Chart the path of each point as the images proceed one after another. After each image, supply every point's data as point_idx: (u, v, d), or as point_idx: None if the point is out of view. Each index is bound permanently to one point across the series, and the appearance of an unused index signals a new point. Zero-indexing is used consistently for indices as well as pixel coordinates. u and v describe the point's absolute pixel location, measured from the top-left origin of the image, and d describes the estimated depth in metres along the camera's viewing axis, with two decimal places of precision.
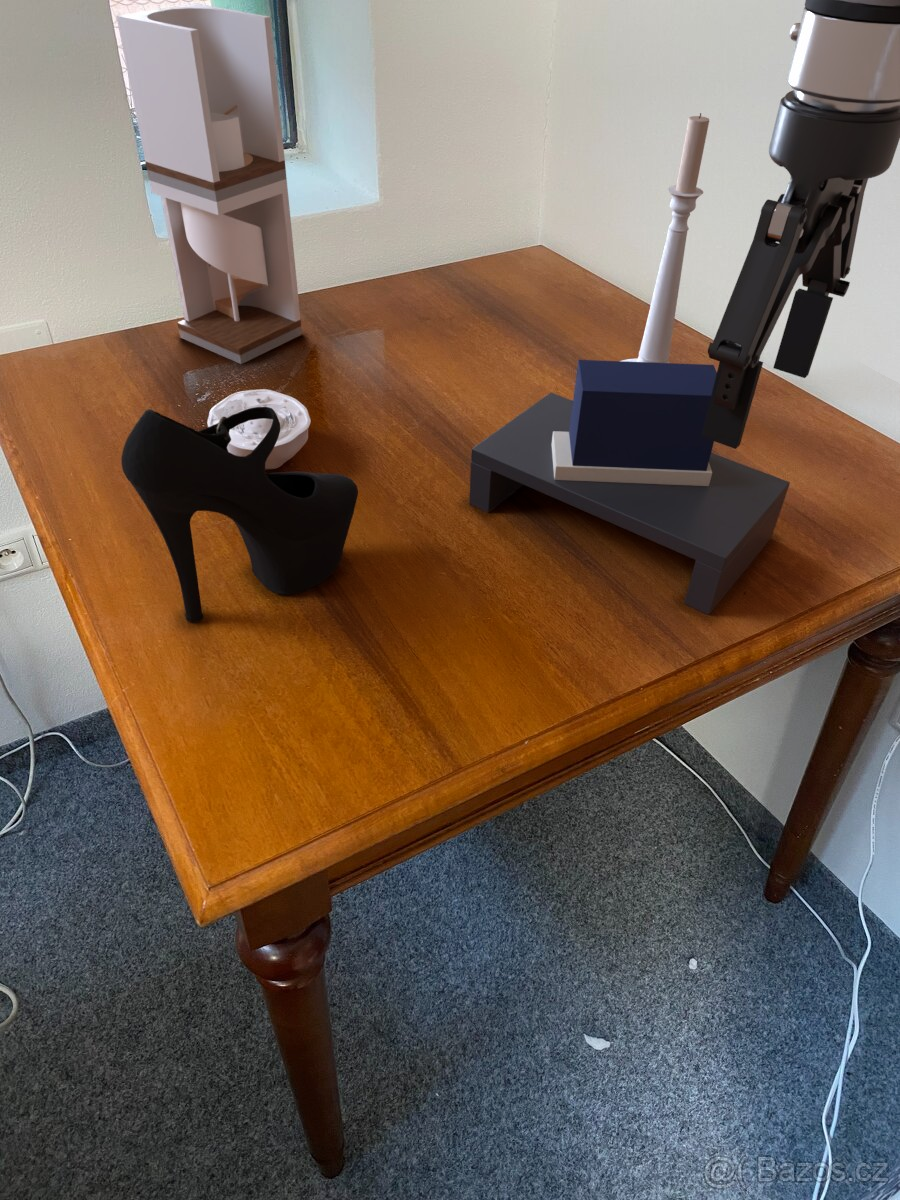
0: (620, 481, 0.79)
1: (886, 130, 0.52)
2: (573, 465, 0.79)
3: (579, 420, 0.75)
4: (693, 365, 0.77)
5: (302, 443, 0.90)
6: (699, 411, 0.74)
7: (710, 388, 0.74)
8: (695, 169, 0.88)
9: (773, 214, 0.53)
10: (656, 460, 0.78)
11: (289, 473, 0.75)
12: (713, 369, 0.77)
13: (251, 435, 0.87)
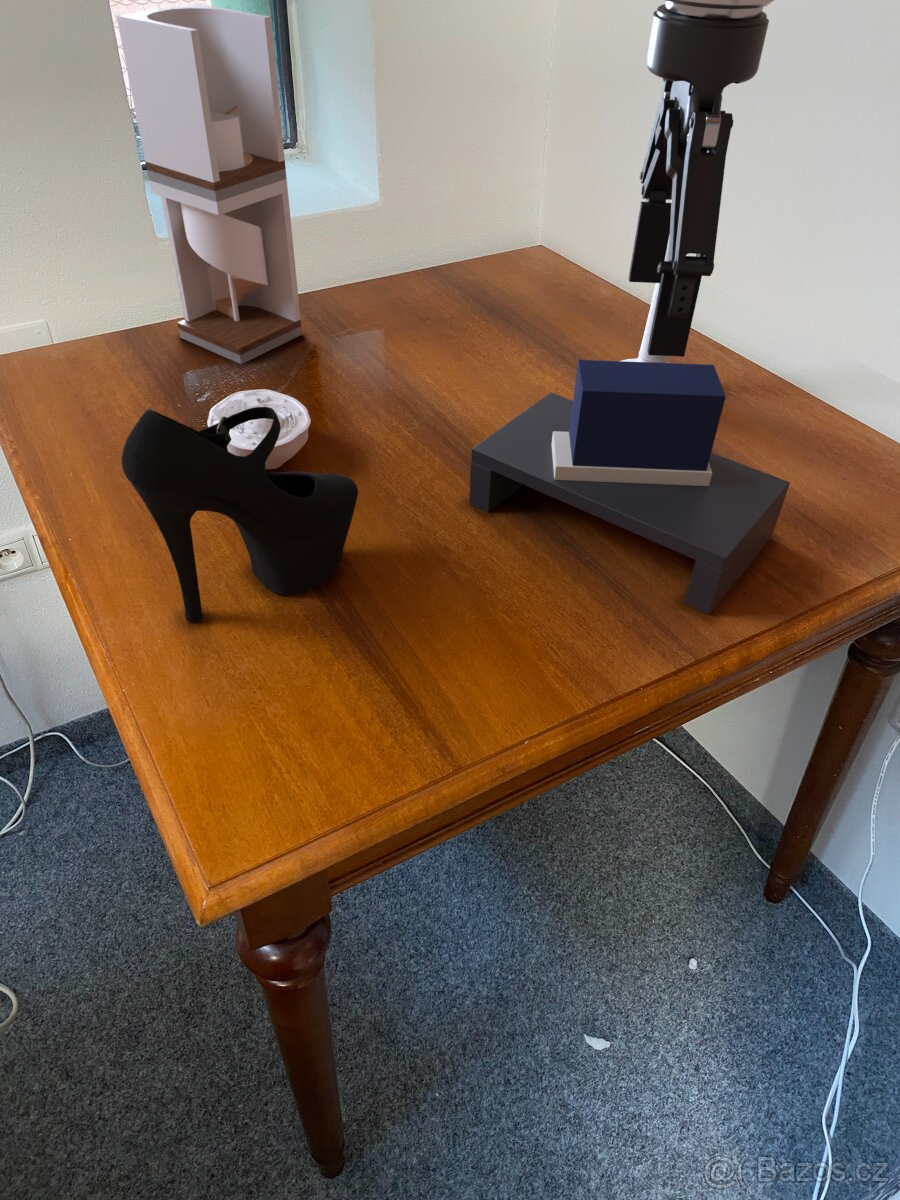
0: (620, 481, 0.79)
1: (765, 31, 0.57)
2: (573, 465, 0.79)
3: (579, 420, 0.75)
4: (693, 365, 0.77)
5: (302, 443, 0.90)
6: (699, 411, 0.74)
7: (710, 388, 0.74)
8: None
9: (706, 124, 0.56)
10: (656, 460, 0.78)
11: (289, 473, 0.75)
12: (713, 369, 0.77)
13: (251, 435, 0.87)
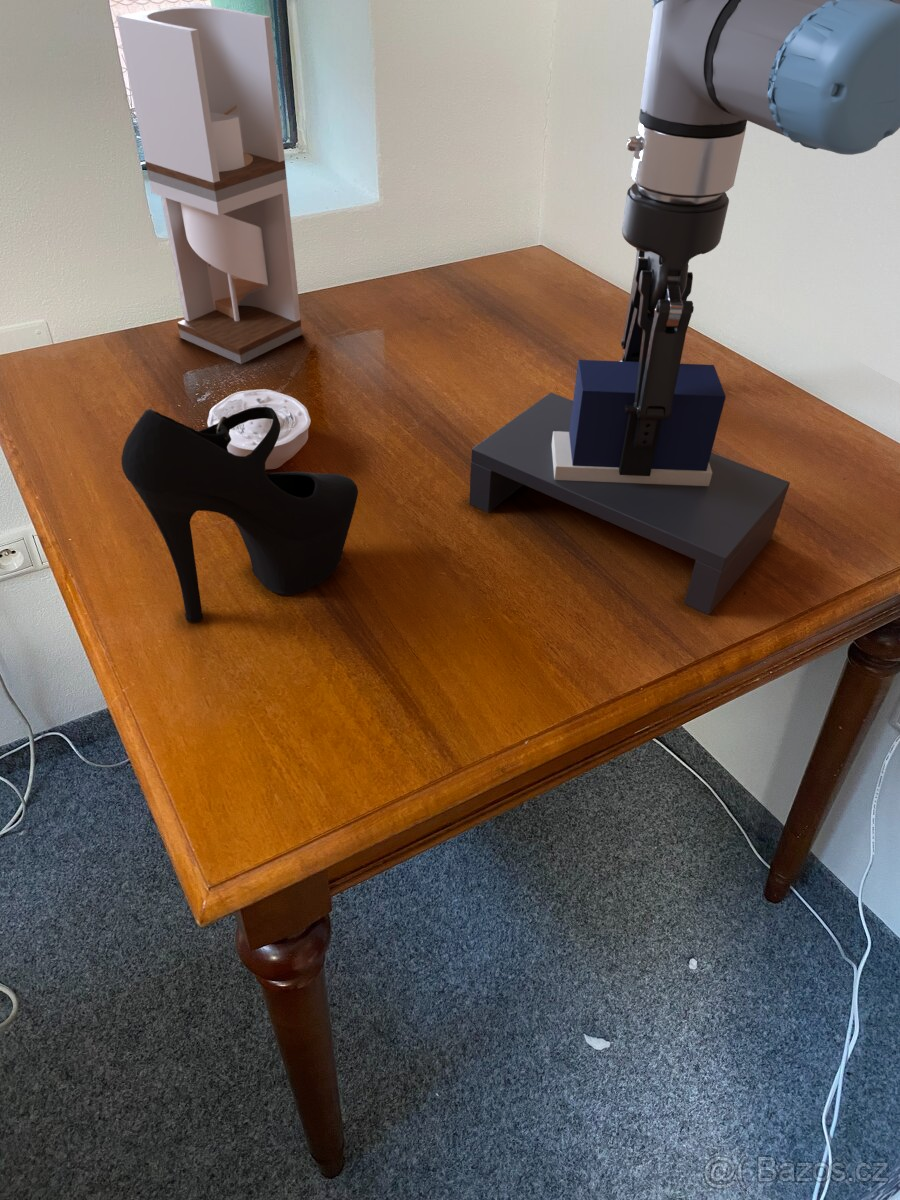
0: (620, 481, 0.79)
1: (725, 211, 0.64)
2: (573, 465, 0.79)
3: (579, 420, 0.75)
4: (693, 365, 0.77)
5: (302, 443, 0.90)
6: (699, 411, 0.74)
7: (710, 388, 0.74)
8: None
9: (669, 314, 0.65)
10: (656, 460, 0.78)
11: (289, 473, 0.75)
12: (713, 369, 0.77)
13: (251, 435, 0.87)
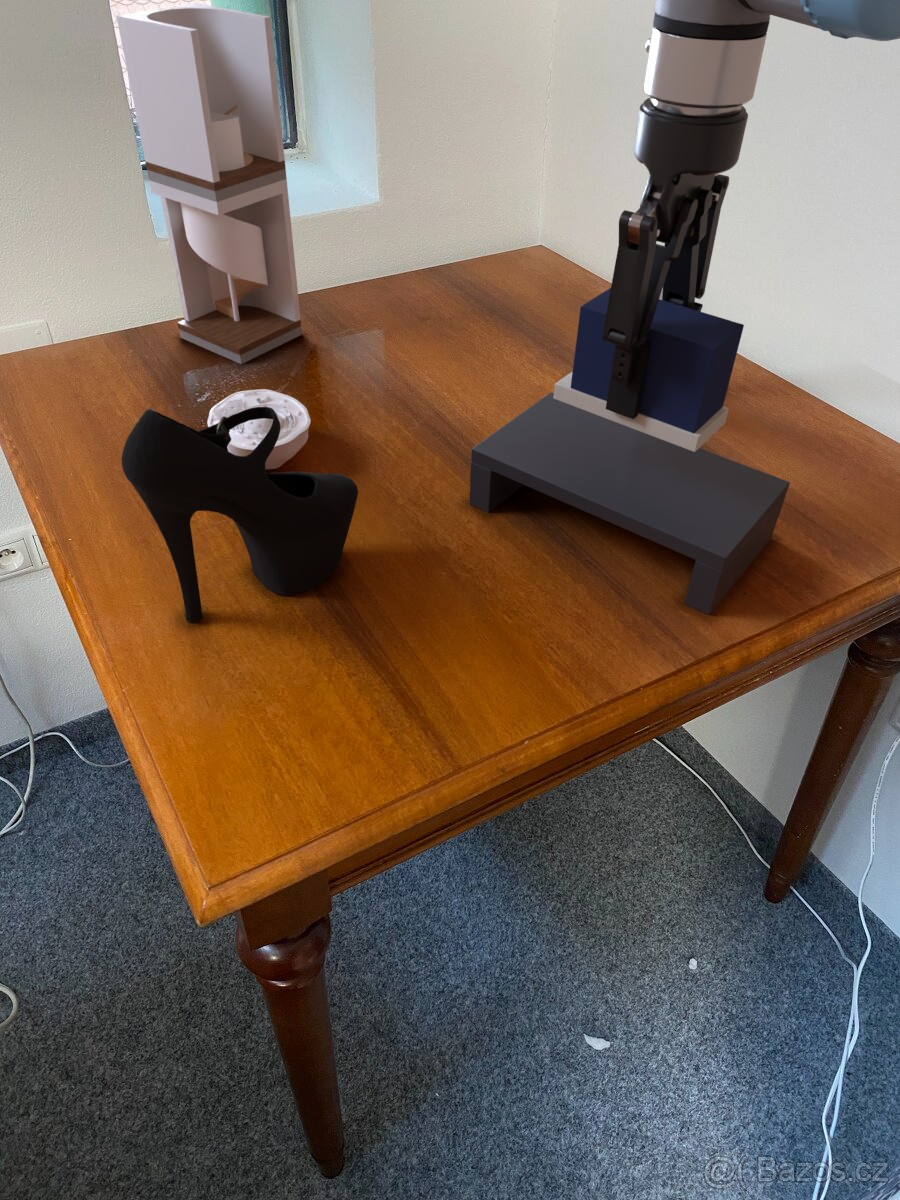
0: (611, 419, 0.76)
1: (725, 131, 0.59)
2: (571, 388, 0.77)
3: (577, 339, 0.74)
4: (721, 319, 0.71)
5: (302, 443, 0.90)
6: (687, 359, 0.69)
7: (708, 339, 0.68)
8: None
9: (628, 226, 0.62)
10: (646, 406, 0.74)
11: (289, 473, 0.75)
12: (737, 327, 0.70)
13: (251, 435, 0.87)
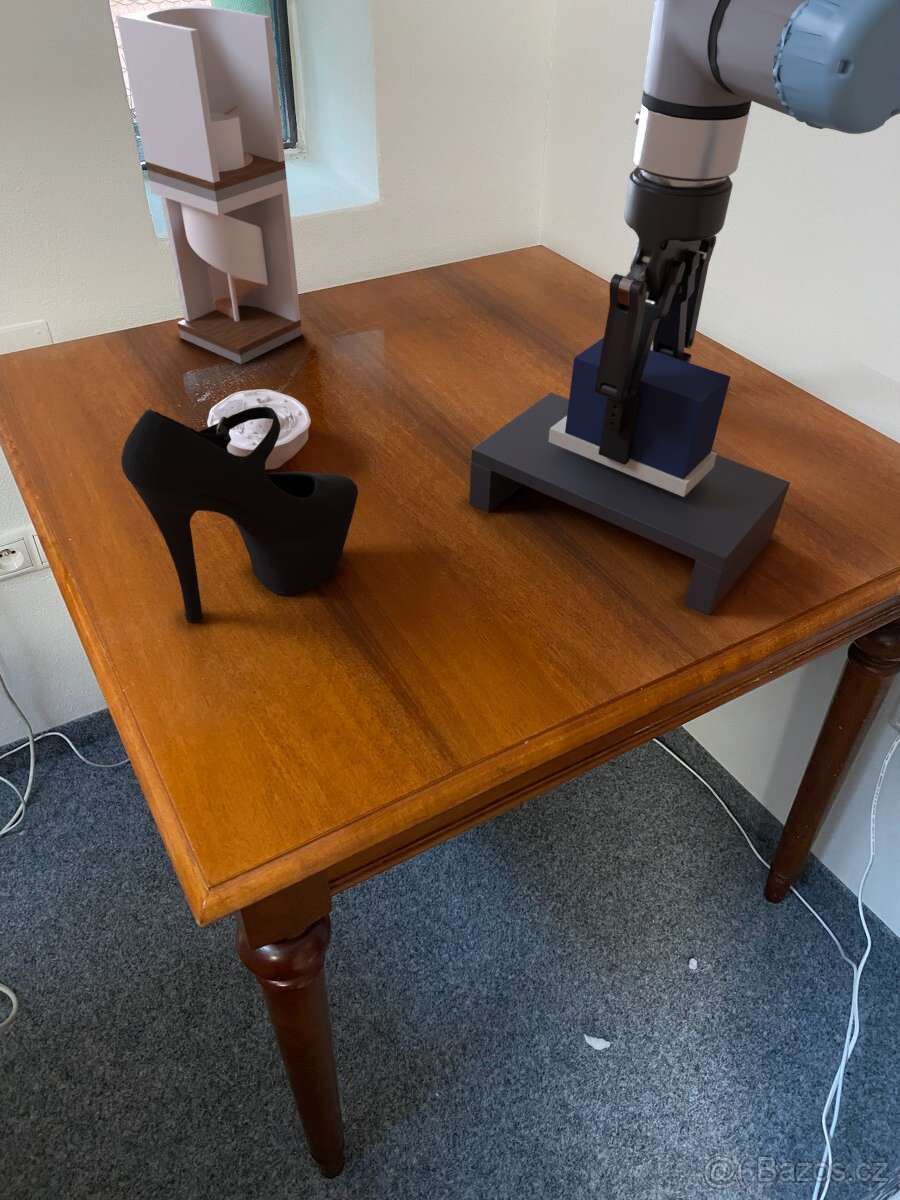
0: (603, 463, 0.79)
1: (710, 202, 0.63)
2: (565, 432, 0.81)
3: (571, 387, 0.77)
4: (708, 370, 0.74)
5: (302, 443, 0.90)
6: (676, 411, 0.72)
7: (696, 392, 0.71)
8: None
9: (618, 289, 0.65)
10: (637, 452, 0.77)
11: (289, 473, 0.75)
12: (724, 379, 0.73)
13: (251, 435, 0.87)
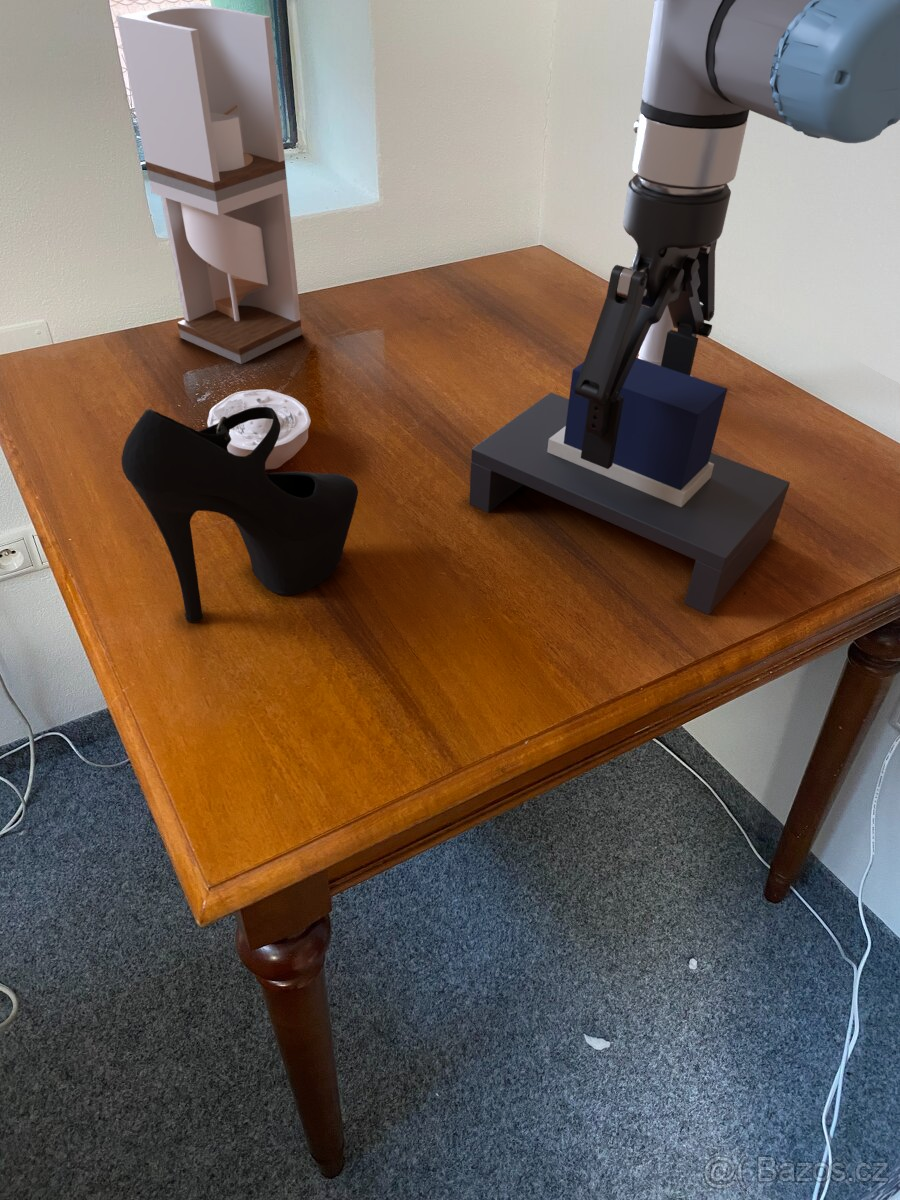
0: (602, 473, 0.80)
1: (709, 210, 0.63)
2: (564, 443, 0.81)
3: (569, 399, 0.78)
4: (705, 382, 0.75)
5: (302, 443, 0.90)
6: (673, 422, 0.73)
7: (693, 404, 0.72)
8: None
9: (620, 277, 0.64)
10: (635, 463, 0.77)
11: (289, 473, 0.75)
12: (720, 391, 0.74)
13: (251, 435, 0.87)
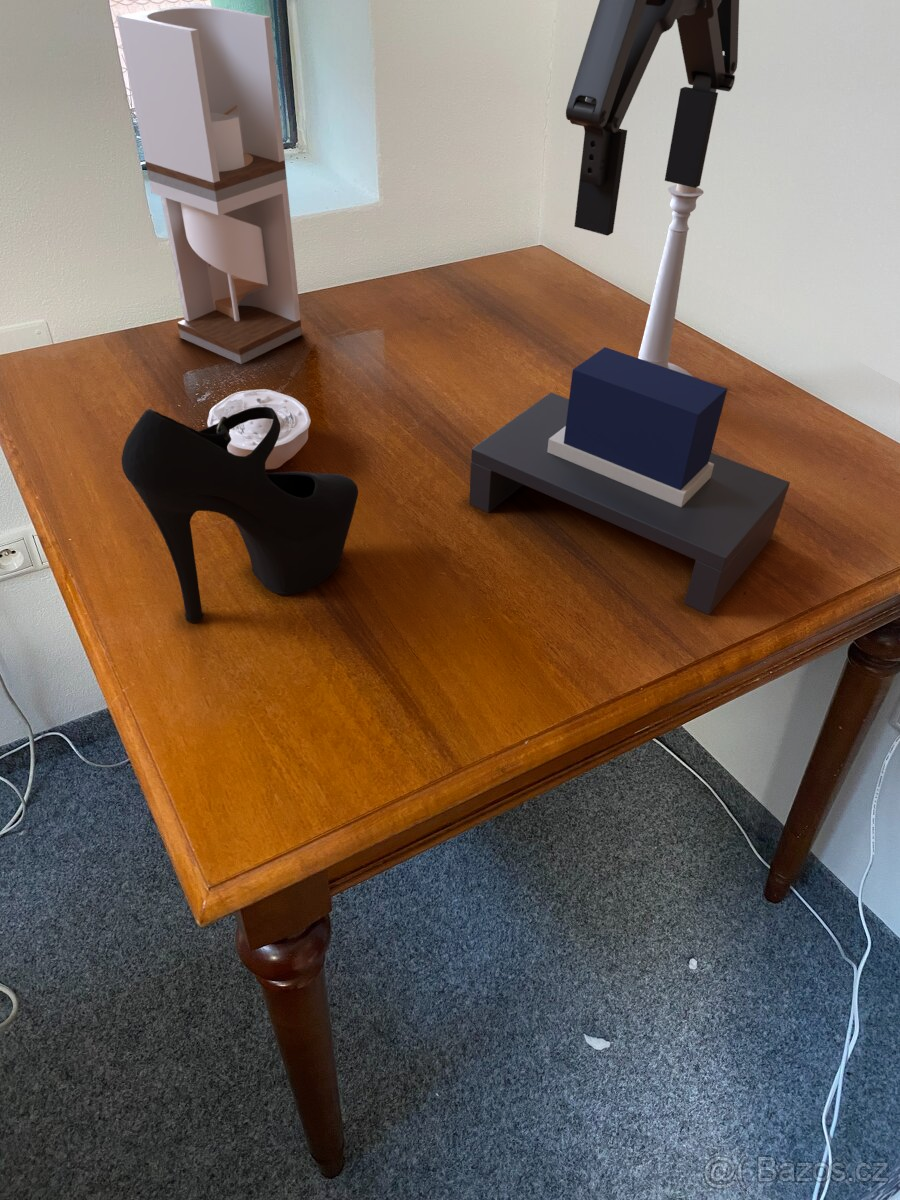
0: (602, 473, 0.80)
1: None
2: (564, 443, 0.81)
3: (569, 399, 0.78)
4: (705, 382, 0.75)
5: (302, 443, 0.90)
6: (673, 422, 0.73)
7: (693, 404, 0.72)
8: None
9: None
10: (635, 463, 0.77)
11: (289, 473, 0.75)
12: (720, 391, 0.74)
13: (251, 435, 0.87)
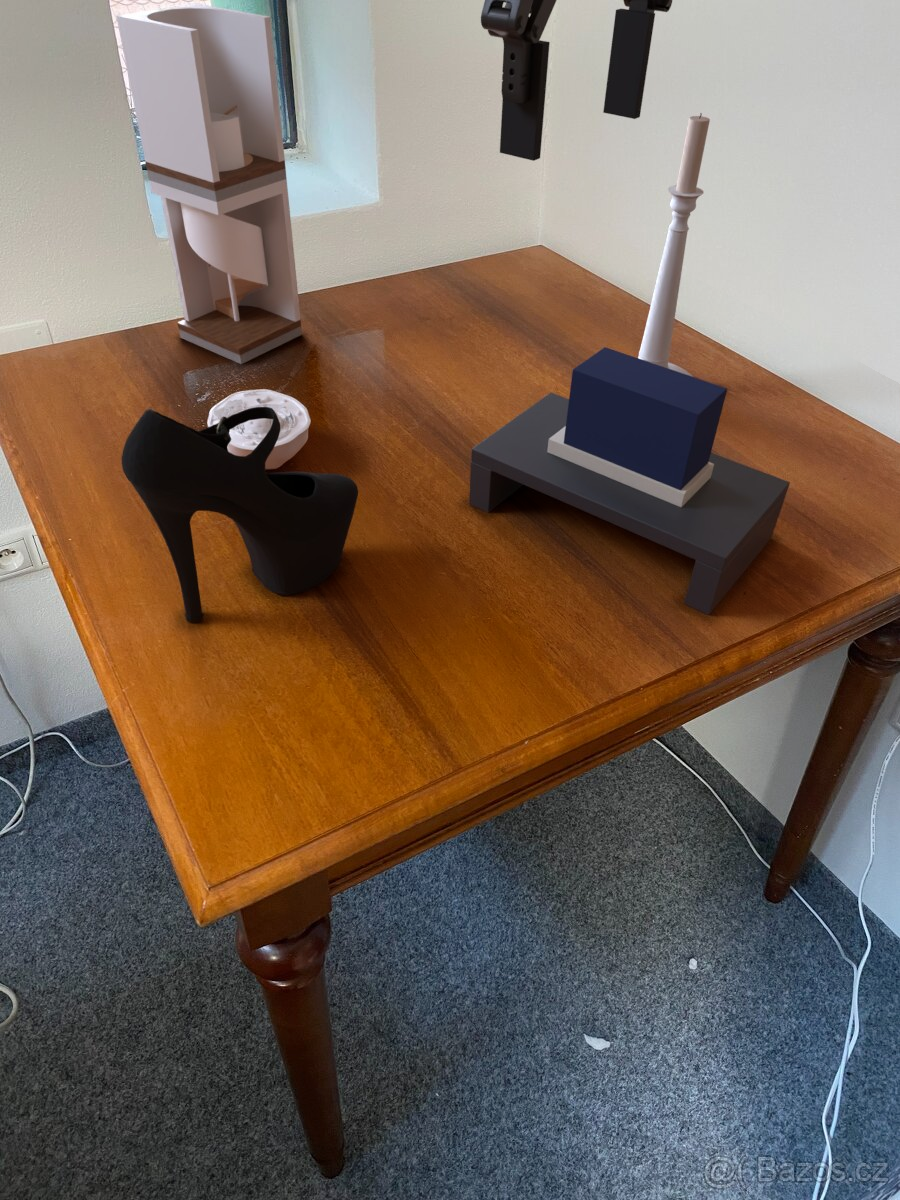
0: (602, 473, 0.80)
1: None
2: (564, 443, 0.81)
3: (569, 399, 0.78)
4: (705, 382, 0.75)
5: (302, 443, 0.90)
6: (673, 422, 0.73)
7: (693, 404, 0.72)
8: (695, 169, 0.88)
9: None
10: (635, 463, 0.77)
11: (289, 473, 0.75)
12: (720, 391, 0.74)
13: (251, 435, 0.87)
